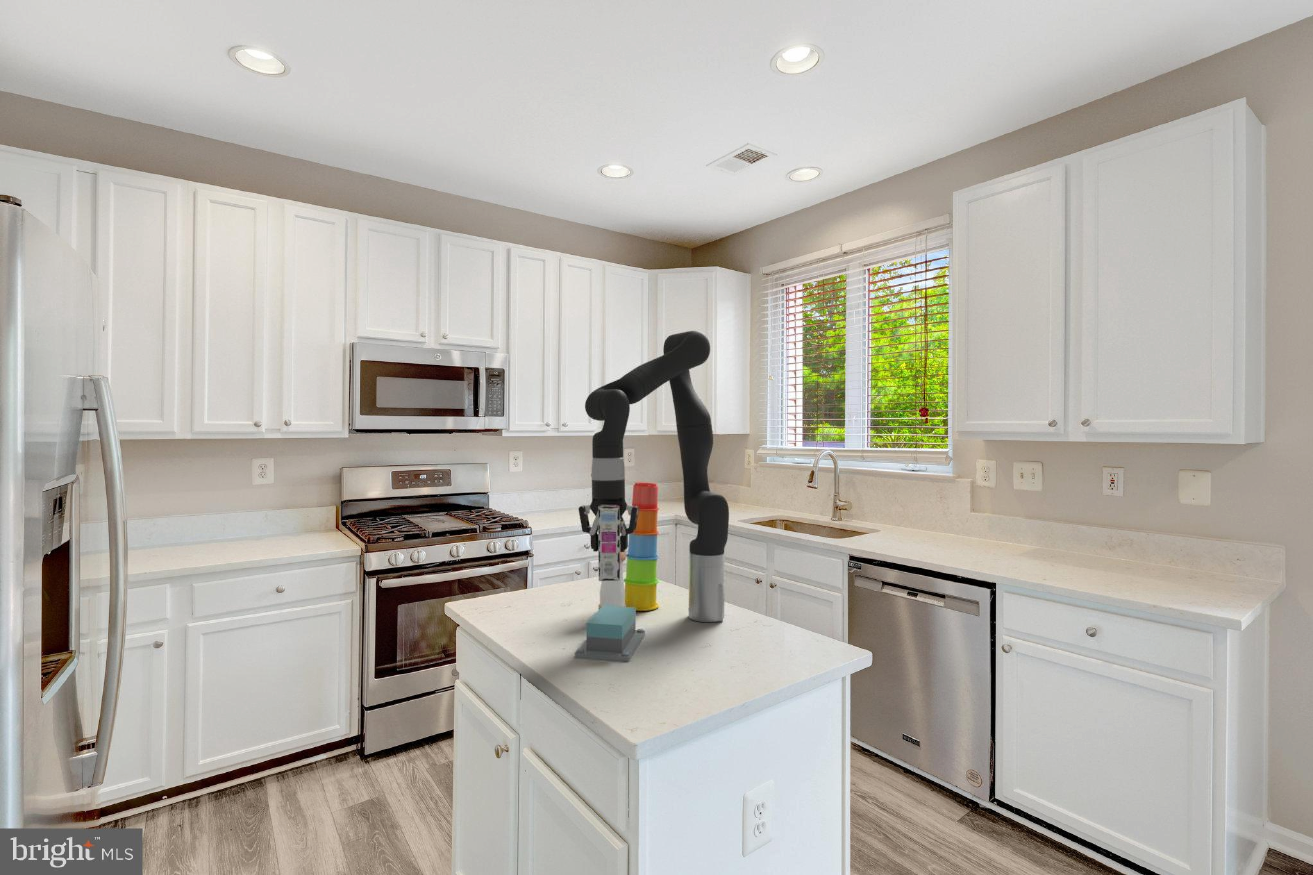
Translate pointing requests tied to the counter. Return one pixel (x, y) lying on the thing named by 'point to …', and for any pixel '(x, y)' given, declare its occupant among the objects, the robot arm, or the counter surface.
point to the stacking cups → (643, 550)
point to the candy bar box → (609, 542)
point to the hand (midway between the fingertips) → (609, 550)
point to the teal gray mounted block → (611, 635)
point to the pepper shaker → (613, 589)
